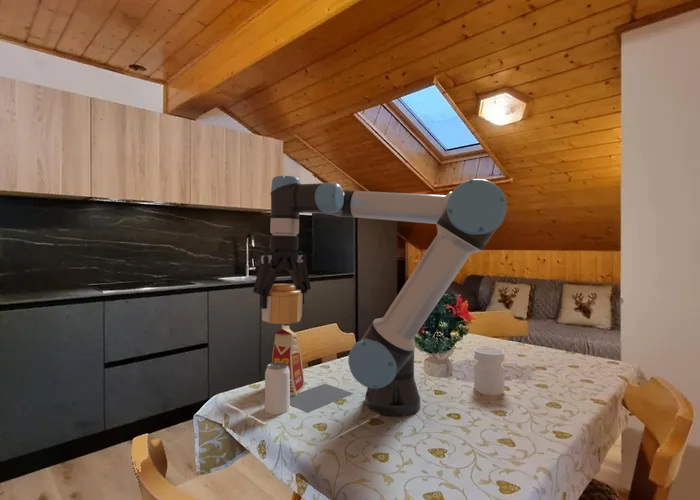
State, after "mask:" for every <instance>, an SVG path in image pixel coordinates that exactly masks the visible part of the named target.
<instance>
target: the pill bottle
mask: <svg viewBox="0 0 700 500" xmlns="http://www.w3.org/2000/svg"><path fill="white" fill-rule="evenodd" d="M473 350H474V357H473V358H474V359H475V361H476V362H475V363H474V364H473V371H474V377H473V378H474V379H473V381H474V382H473V388H474V390H475V391H476V392H477V391H478V392H477V393H480V394H482V395H488V396H500V395H503V394H504V392H505V367H504V366H503V365H502V363H503V362H505V351H504V350H502V349H500V348H497V347H489V346H479V347H475V348H474V349H473Z"/></svg>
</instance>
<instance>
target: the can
mask: <svg viewBox="0 0 700 500" xmlns="http://www.w3.org/2000/svg"><path fill="white" fill-rule="evenodd" d="M264 371H265V372H264V411H265V412H266V414H269V415H281V414H282V415H283V414H285V413H287V412H289V410H290V409H291V408H290V407H291V405H290V396H291V395H290V370H289V368H288V364H286V363H281V362H278V363H272V362H271V363H268V364H267V365H266V370H264Z"/></svg>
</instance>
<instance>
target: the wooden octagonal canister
mask: <svg viewBox="0 0 700 500" xmlns="http://www.w3.org/2000/svg"><path fill="white" fill-rule="evenodd" d="M268 296H271V319H270V322H267V321H264V322H266V323H268V324H275V325H276V324H277V325H286V324H287V325H288V324H296V323H299V322H300V321H301V320H302V319H301V318H302V317H301V290H299V289H296V287H295V285H294V283H293V284H292V283H274V284H273V286H272V288H271V290H270V292H269V294H268Z"/></svg>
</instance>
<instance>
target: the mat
mask: <svg viewBox="0 0 700 500" xmlns="http://www.w3.org/2000/svg"><path fill="white" fill-rule="evenodd" d="M353 394H354V393H353V392H350V391H348V390H345V389H342V388H340V387H336V386H334V385H331V384H328V383H323V384H319V385H317V386H315V387H312V388H308V389H306V390H303V391H300V392H299V393H298V394H297V395H296V396H291V395H290V407H294V408H295V409H297V410H301V411H303V412H305V413H307V414H308V413H312V411H313V412H314V411H315V410H318V409H320V408H323V407H325V406H327V405H330V404H332V403H334V402H337V401H339V400H343V399H344V398H347V397H349V396H352V395H353Z"/></svg>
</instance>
